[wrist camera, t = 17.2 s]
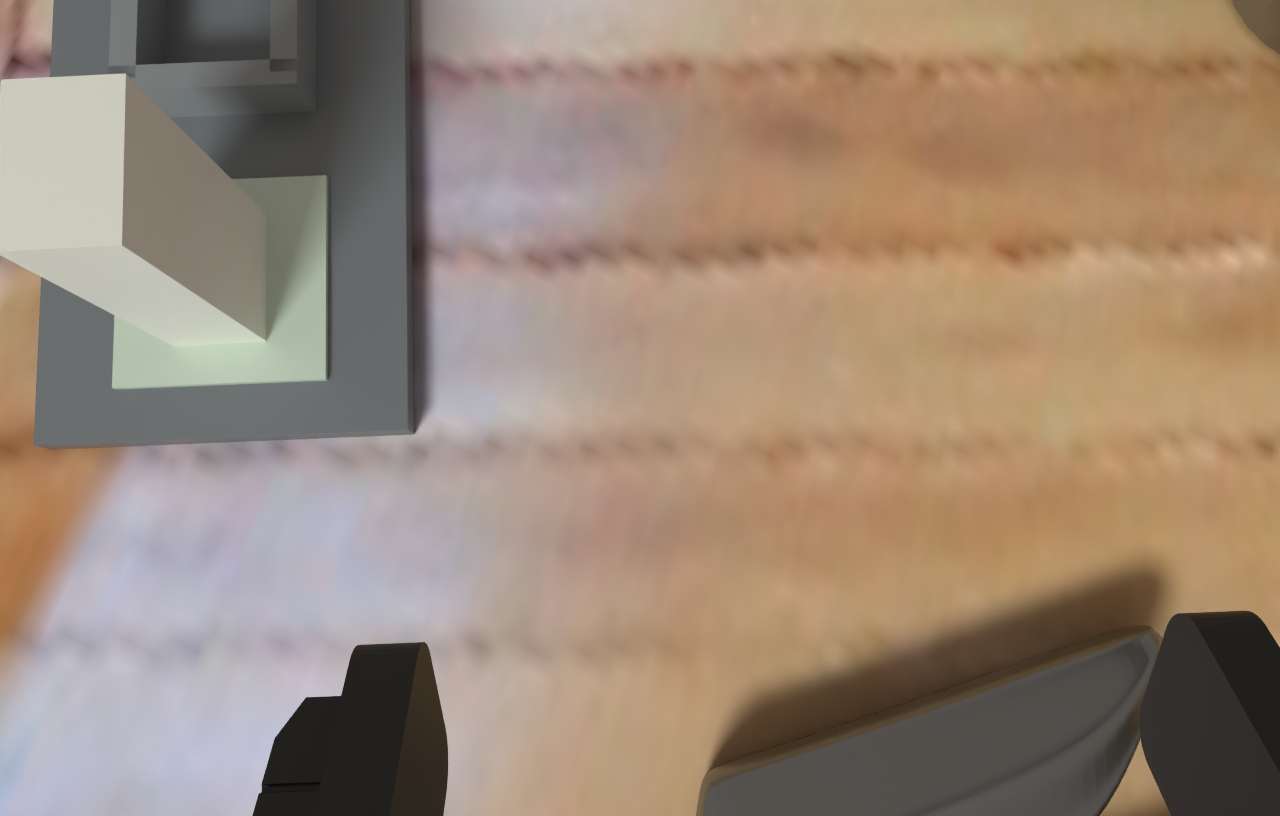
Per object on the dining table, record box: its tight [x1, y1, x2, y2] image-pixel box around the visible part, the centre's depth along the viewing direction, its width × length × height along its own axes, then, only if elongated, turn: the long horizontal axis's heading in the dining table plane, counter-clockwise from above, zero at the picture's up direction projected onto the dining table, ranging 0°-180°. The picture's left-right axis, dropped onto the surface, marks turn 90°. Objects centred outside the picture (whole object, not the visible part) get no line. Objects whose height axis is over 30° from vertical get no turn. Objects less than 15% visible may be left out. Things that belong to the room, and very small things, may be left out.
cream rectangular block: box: [0, 73, 267, 346], centre depth 38 cm, size 4×5×12 cm
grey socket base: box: [34, 0, 414, 449], centre depth 44 cm, size 14×24×5 cm, turn 2°
